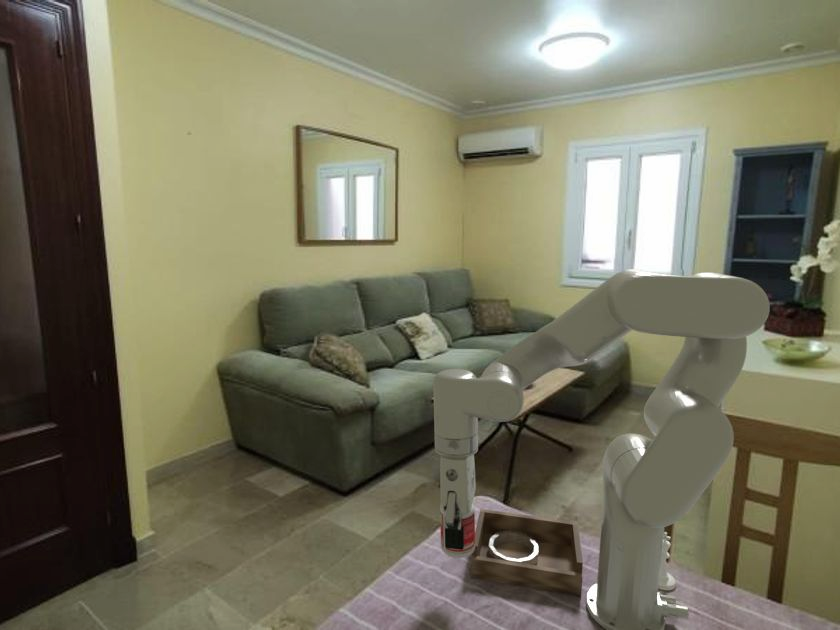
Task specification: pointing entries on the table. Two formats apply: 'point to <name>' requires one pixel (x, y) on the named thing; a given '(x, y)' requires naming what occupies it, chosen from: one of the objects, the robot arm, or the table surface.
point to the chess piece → (665, 578)
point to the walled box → (555, 553)
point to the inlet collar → (517, 538)
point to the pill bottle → (469, 534)
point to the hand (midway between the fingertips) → (457, 534)
